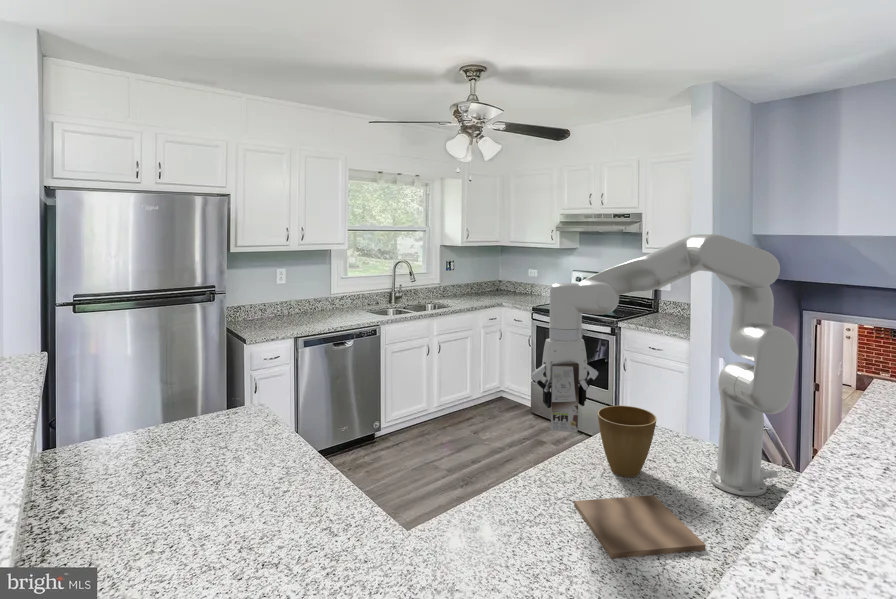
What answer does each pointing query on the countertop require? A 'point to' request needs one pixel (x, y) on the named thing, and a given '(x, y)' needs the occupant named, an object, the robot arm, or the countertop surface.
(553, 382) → the coffee box
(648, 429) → the plant pot
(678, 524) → the walnut board
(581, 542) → the countertop surface
